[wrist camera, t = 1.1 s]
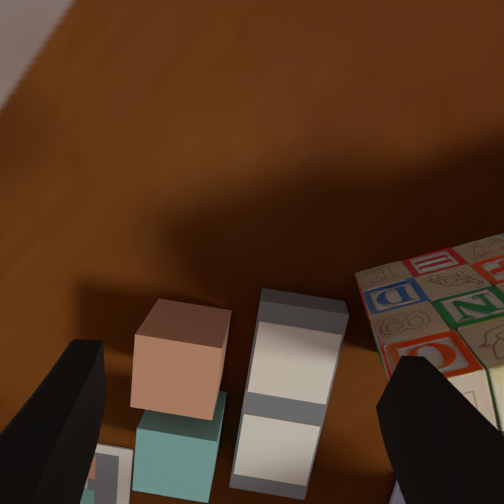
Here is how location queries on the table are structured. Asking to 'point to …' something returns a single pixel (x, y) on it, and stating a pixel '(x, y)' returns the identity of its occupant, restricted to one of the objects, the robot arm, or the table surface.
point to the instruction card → (109, 476)
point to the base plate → (287, 391)
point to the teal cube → (177, 453)
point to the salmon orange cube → (180, 359)
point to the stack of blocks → (445, 317)
